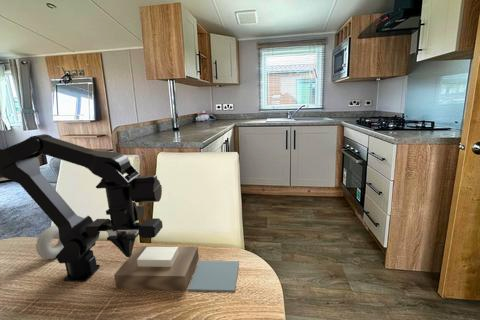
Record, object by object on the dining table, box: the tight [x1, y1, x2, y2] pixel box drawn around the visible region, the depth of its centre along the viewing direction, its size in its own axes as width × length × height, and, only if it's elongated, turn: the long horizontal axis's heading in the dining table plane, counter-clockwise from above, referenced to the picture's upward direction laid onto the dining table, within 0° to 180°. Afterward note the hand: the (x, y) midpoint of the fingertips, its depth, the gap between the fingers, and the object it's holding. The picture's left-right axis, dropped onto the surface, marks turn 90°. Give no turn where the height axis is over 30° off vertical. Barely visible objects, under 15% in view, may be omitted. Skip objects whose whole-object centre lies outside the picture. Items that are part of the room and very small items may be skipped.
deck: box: [113, 245, 200, 291], centre depth 70 cm, size 18×13×4 cm
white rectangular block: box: [137, 247, 179, 267], centre depth 69 cm, size 9×6×2 cm, turn 85°
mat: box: [187, 260, 240, 293], centre depth 68 cm, size 12×12×1 cm
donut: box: [35, 224, 64, 260], centre depth 79 cm, size 10×4×10 cm, turn 162°
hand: (129, 256), depth 70 cm, fingers closed
